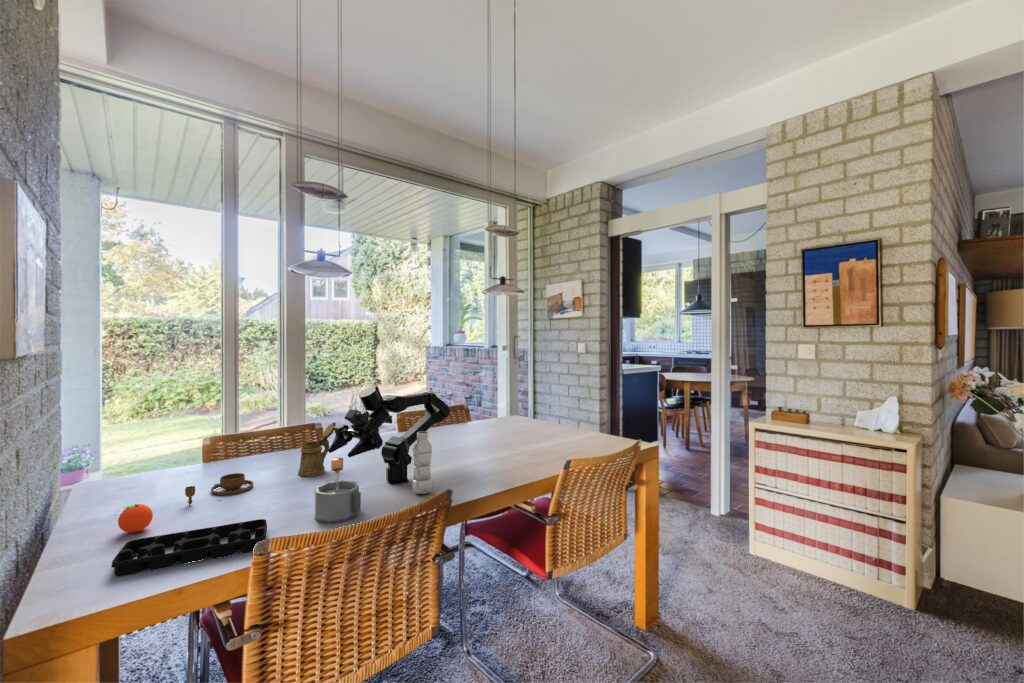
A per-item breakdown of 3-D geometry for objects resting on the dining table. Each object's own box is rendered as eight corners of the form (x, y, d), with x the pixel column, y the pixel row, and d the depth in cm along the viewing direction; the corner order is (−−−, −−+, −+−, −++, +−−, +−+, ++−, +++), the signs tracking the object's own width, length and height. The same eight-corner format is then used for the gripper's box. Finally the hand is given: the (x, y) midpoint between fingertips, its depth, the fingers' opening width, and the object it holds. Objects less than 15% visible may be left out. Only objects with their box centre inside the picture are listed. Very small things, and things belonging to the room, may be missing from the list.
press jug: (333, 505, 133) (333, 478, 133) (370, 510, 130) (370, 483, 130) (305, 520, 122) (305, 491, 122) (344, 526, 119) (345, 497, 118)
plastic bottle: (415, 498, 140) (415, 435, 140) (409, 491, 146) (410, 431, 146) (434, 494, 143) (435, 433, 143) (428, 488, 149) (429, 429, 149)
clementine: (107, 540, 109) (107, 512, 109) (119, 529, 116) (119, 502, 116) (147, 534, 113) (147, 507, 113) (156, 524, 119) (156, 498, 119)
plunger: (334, 488, 131) (334, 454, 131) (358, 491, 129) (358, 456, 129) (314, 498, 123) (314, 461, 123) (339, 502, 121) (339, 464, 121)
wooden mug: (340, 470, 167) (340, 423, 167) (302, 478, 158) (303, 428, 158) (331, 465, 174) (331, 420, 174) (294, 472, 164) (294, 424, 164)
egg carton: (113, 559, 101) (113, 542, 101) (261, 524, 121) (261, 510, 121) (109, 593, 88) (108, 575, 88) (275, 548, 107) (275, 533, 107)
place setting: (260, 493, 144) (260, 475, 144) (185, 510, 130) (185, 490, 130) (245, 480, 157) (245, 464, 156) (175, 494, 142) (175, 476, 142)
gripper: (344, 399, 148) (307, 430, 137) (383, 404, 138) (347, 437, 127) (358, 425, 153) (323, 456, 142) (396, 432, 143) (363, 466, 132)
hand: (338, 454), depth 135 cm, fingers open, 9 cm apart
